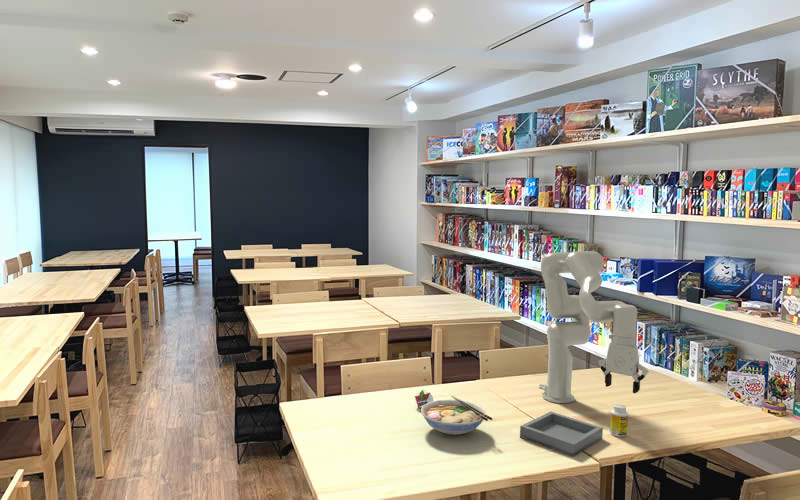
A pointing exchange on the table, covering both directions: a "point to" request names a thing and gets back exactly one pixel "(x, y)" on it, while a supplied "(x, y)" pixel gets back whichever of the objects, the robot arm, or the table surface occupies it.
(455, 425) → the ramen bowl
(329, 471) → the table surface
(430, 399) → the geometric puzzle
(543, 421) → the tray
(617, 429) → the supplement bottle
